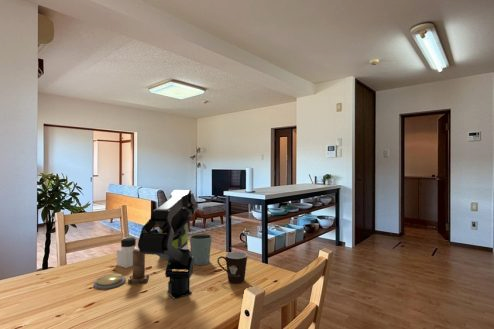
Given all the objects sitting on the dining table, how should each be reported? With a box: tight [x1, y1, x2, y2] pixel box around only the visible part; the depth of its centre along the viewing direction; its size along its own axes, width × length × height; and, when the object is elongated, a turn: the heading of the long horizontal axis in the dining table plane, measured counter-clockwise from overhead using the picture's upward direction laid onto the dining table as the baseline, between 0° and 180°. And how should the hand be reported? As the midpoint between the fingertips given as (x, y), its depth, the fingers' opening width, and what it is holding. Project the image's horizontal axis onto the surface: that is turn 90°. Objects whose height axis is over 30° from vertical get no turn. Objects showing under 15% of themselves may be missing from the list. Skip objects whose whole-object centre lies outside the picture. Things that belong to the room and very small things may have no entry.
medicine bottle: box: [116, 236, 138, 269], centre depth 126 cm, size 7×7×12 cm
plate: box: [93, 275, 127, 290], centre depth 106 cm, size 11×11×1 cm
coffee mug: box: [216, 251, 248, 285], centre depth 110 cm, size 12×9×10 cm
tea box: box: [158, 222, 189, 259], centre depth 142 cm, size 15×10×15 cm
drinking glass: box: [189, 233, 213, 266], centre depth 130 cm, size 10×10×12 cm
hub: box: [96, 273, 124, 286], centre depth 106 cm, size 9×9×1 cm
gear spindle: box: [127, 247, 150, 286], centre depth 108 cm, size 8×7×12 cm
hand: (153, 248), depth 105 cm, fingers open, 9 cm apart
